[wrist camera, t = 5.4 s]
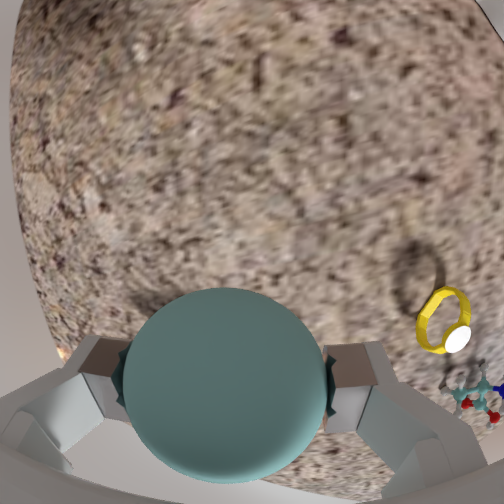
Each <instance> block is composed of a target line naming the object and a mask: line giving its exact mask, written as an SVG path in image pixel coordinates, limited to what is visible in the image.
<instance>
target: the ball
mask: <svg viewBox="0 0 504 504" xmlns="http://www.w3.org/2000/svg"><path fill="white" fill-rule="evenodd" d="M123 394H124V400H125V406H126V410H127V413H128V416H129V418H130V421H131V423H132V426H133V428H134V429H135V431H136V433H137V434H138V436H139V438H140V439H141V441H142V442H143V443H144V444H145V446H146V447H147V448H148V449H149V450H150V451H151V452H152V453H153V454H154V455H155V456H156V457H157V458H158V459H159V460H161V461H162V462H163V463H165V464H166V465H168V466H169V467H170V468H172V469H174V470H176V471H178V472H179V473H182V474H184V475H186V476H189V477H192V478H195V479H197V480H202V481H206V482H211V483H221V484H233V483H243V482H249V481H253V480H257V479H260V478H263V477H265V476H268V475H270V474H273V473H275V472H277V471H278V470H280V469H282V468H283V467H285V466H286V465H288V464H289V463H291V462H292V461H293V460H294V459H295V458H296V457H297V456H299V455H300V454H301V453H302V452H303V451H304V449H305V448H306V447H307V446H308V444H309V443H310V442H311V440H312V439H313V437H314V436H315V434H316V432H317V430H318V428H319V426H320V424H321V422H322V419H323V416H324V412H325V409H326V404H327V395H328V381H327V372H326V366H325V363H324V360H323V357H322V353H321V350H320V348H319V346H318V345H317V343H316V341H315V339H314V337H313V336H312V334H311V332H310V331H309V330H308V329H307V327H306V326H305V325H304V324H303V323H302V321H301V320H300V319H299V318H298V317H296V316H295V315H294V314H293V313H292V312H291V311H290V310H288V309H287V308H286V307H284V306H283V305H281V304H279V303H278V302H276V301H274V300H272V299H270V298H268V297H266V296H264V295H261V294H259V293H255V292H252V291H248V290H243V289H237V288H210V289H205V290H199V291H195V292H192V293H189V294H186V295H183V296H181V297H179V298H177V299H175V300H173V301H171V302H170V303H168V304H166V305H165V306H163V307H162V308H160V309H159V310H158V311H157V312H156V313H155V314H154V315H153V316H152V317H150V318H149V319H148V320H147V321H146V323H145V324H144V325H143V327H142V328H141V329H140V331H139V332H138V334H137V335H136V337H135V339H134V341H133V343H132V345H131V347H130V349H129V352H128V354H127V358H126V362H125V367H124V372H123Z"/></svg>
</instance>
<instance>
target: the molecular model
mask: <svg viewBox="0 0 504 504" xmlns="http://www.w3.org/2000/svg"><path fill="white" fill-rule="evenodd" d="M487 370H488V364H487V363H483V364H482V365H481V366H480V371H481V372H482V379H481V381H480V382H479V383H478V385H477V387H474V388H470V389H467V390H466V388H465V387H463V384H464V383H465V382H466V377H465V376H464V375H459V376H458V377H457V379H456V382H457V384H458V388H456V389H455V390H450V389H449V387H447V386H444V387H443V388H442V389H441V394H442V395H443V396H446V395H447V394H450V395H453V397H454V399H455V400H456V401H457V406H456V411H455V412H454V413H453V415H455V416H456V417H458V418H459V419H460V418H461V417H462V411H461V407H462V408H463V409H467V408H468V407H475V409H476V410H484V411H485V412H486V413H487V414H488V415H489V416H490V422H488V423H487V425H486V427H487V429H489V430H490V429H492V428H493V427H494V423H497V422H498V421H499V419H500V414H502V415H503V414H504V383H503V384H502V385H501V386H500V387H499V386H490V384H489V382H488V381H487V380H486V371H487ZM503 379H504V375H503ZM488 390H490V391H498V392H499V394H500V396H502V406H501V407H500V408H499V413H500V414H499V413H498V412H494V413H493V412H492V411H491V410H490V409H489V408H488V407H487V406H486V404H487V401H486V399H485V398H484V394H485V393H486V392H487V391H488ZM473 392H478V393H479V394H480V398H478V399H477V400H470V399H469V398H466V396H467V394H470V393H473Z"/></svg>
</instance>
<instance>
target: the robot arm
mask: <svg viewBox="0 0 504 504" xmlns="http://www.w3.org/2000/svg"><path fill="white" fill-rule="evenodd" d="M476 1H477V2H478V4H479V5H480V6H481V7H482V9H483V10H484V12H485V13H486V15H487V17H488V18H489V20H490V22H491V23H492V25H493V26H494V28H495V29H496V31H497V32H498V34H499V35H500V37H501V38H502V39H503V41H504V0H476ZM133 341H134V340H131V339H123V338H115V337H108V336H99V335H93V334H89V335H86V336H85V337H84V339H83V340H82V342H81V343H80V344H79V346H78V347H77V348H76V350H75V351H74V353H73V354H72V355H71V357H70V358H69V360H68V361H67V362H66V364H65V365H64V367H63V368H62V369H60V368H57V369H55V370H53V371H51V372H49V373H48V374H45V375H44V376H42V377H40V378H38V379H36V380H34V381H32V382H30V383H28V384H26V385H24V386H23V387H20V388H19V389H17V390H15V391H13V392H11V393H9V394H7V395H5V396H3V397H1V398H0V504H181V503H175V502H170V501H165V500H158V499H154V498H149V497H145V496H140V495H136V494H132V493H128V492H124V491H120V490H117V489H113V488H110V487H106V486H103V485H100V484H96V483H94V482H90V481H87V480H85V479H82V478H79V477H76V476H73V475H71V473H72V470H73V467H72V464H71V463H70V462H69V461H68V460H67V459H66V458H65V456H64V455H63V453H64V452H65V451H66V450H68V449H69V448H70V447H71V446H73V445H74V444H75V443H76V442H77V441H79V440H80V439H81V438H82V437H84V436H85V435H86V434H87V433H89V432H90V431H91V430H92V429H93V428H95V427H96V426H97V425H98V424H100V423H101V422H102V421H103V420H104V419H105V418H109V419H114V420H119V421H125V422H131V421H130V418H129V416H128V413H127V410H126V406H125V400H124V394H123V372H124V367H125V362H126V358H127V354H128V352H129V349H130V347H131V345H132V343H133ZM322 357H323V360H324V363H325V366H326V372H327V381H328V395H327V404H326V409H325V412H324V416H323V424H324V431H325V433H337V432H350V431H356V433H357V434H358V435H359V436H360V437H361V438H362V439H363V440H364V441H365V442H366V443H367V444H368V445H369V447H370V448H371V449H372V450H373V451H374V452H375V453H376V454H377V455H378V456H379V457H380V458H381V459H382V460H383V461H384V462H385V463H386V464H387V465H388V466H389V467H390V468H391V469H392V470H393V471H394V472H395V474H394V475H393V477H392V478H391V479H390V481H389V482H388V483H387V485H386V486H385V487H384V488H383V490H382V491H381V494H382V499H379V500H374V501H368V502H362V503H356V504H504V458H503V459H501V460H499V461H497V462H495V463H493V464H490V465H488V464H487V461H486V459H485V457H484V455H483V452H482V450H481V448H480V445H479V443H478V441H477V439H476V437H475V434H474V432H473V430H472V428H471V426H470V425H468V424H467V423H465V422H464V421H462V420H461V419H459V418H458V417H456V416H455V415H453V414H452V413H450V412H449V411H447V410H445V409H444V408H442V407H441V406H439V405H438V404H436V403H435V402H433V401H432V400H430V399H429V398H427V397H426V396H424V395H423V394H421V393H420V392H418V391H417V390H415V389H414V388H412V387H411V386H409V385H408V384H406V383H405V382H400V383H399V381H398V379H397V377H396V374H395V372H394V370H393V367H392V365H391V363H390V360H389V358H388V356H387V354H386V351H385V349H384V347H383V345H382V343H381V342H380V341H372V342H362V343H353V344H337V345H324V348H323V354H322Z"/></svg>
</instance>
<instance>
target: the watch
mask: <svg viewBox="0 0 504 504" xmlns="http://www.w3.org/2000/svg"><path fill="white" fill-rule="evenodd" d="M452 294H453V295H456V296H457V297H458V298H459V301H460V311H461V313H460V317H459V320H458V322H457V323H455V324H453V325H452V326H450V327H449V328H448V329H447V330H446V332H445V333H444V335H443V338H442V343H441V344H439V345H437V346H435V347H432V346H431V345H430V344H429V342H428V341H427V334H426V328H427V323H428V319H429V317H430V316H431V315H432V313H433V312H434V310H435V309H436V308H437V306H438V305H439V304H440V302H441V301H442V299H443V298H445V297H447V296H449V295H452ZM470 319H471V308H470V302H469V300H468V299H467V297H466V296H465V295H464V293H462V292H461V291H459V290H458V289H456V288H454V287H449V286H446V287H445V286H444V287H442V288H440V289H437V290H435V291H434V292H433V295H432V296H431V298H430V299H429V301H428V302H427V303H426V305H425V306H424V307H423V309H422V310H421V312H420V313H419V314H418V318H417V322H416V328H415V329H416V338H417V341H418V343H419V344H420V345H421V347H422V348H423V349H425V350H428V351H430V352H433V353H438V354H443V353H445V352H449V353H454V352H457V351H459V350H461V349H462V348H463V347H464V346H465V345H466V344H467V342H468V341H469V339H470V336H471V330H470V328H469V327H468V326H469V323H470Z"/></svg>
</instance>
